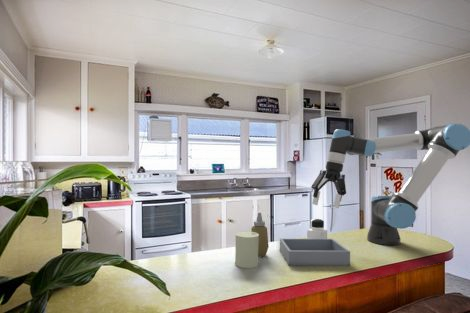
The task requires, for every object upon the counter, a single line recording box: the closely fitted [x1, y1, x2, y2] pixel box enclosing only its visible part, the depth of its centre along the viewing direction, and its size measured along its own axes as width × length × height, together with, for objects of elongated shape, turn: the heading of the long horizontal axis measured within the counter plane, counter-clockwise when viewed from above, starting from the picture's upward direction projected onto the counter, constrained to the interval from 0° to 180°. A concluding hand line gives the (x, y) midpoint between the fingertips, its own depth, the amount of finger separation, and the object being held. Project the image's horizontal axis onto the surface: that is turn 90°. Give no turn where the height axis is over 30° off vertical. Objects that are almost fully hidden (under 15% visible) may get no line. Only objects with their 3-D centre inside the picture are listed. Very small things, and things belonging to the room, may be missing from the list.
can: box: [234, 230, 259, 269], centre depth 116 cm, size 9×9×12 cm
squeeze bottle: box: [250, 212, 270, 258], centre depth 126 cm, size 8×8×18 cm
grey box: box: [279, 238, 351, 267], centre depth 124 cm, size 24×18×6 cm
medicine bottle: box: [306, 218, 328, 239], centre depth 143 cm, size 7×7×12 cm
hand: (325, 206), depth 140 cm, fingers open, 13 cm apart
